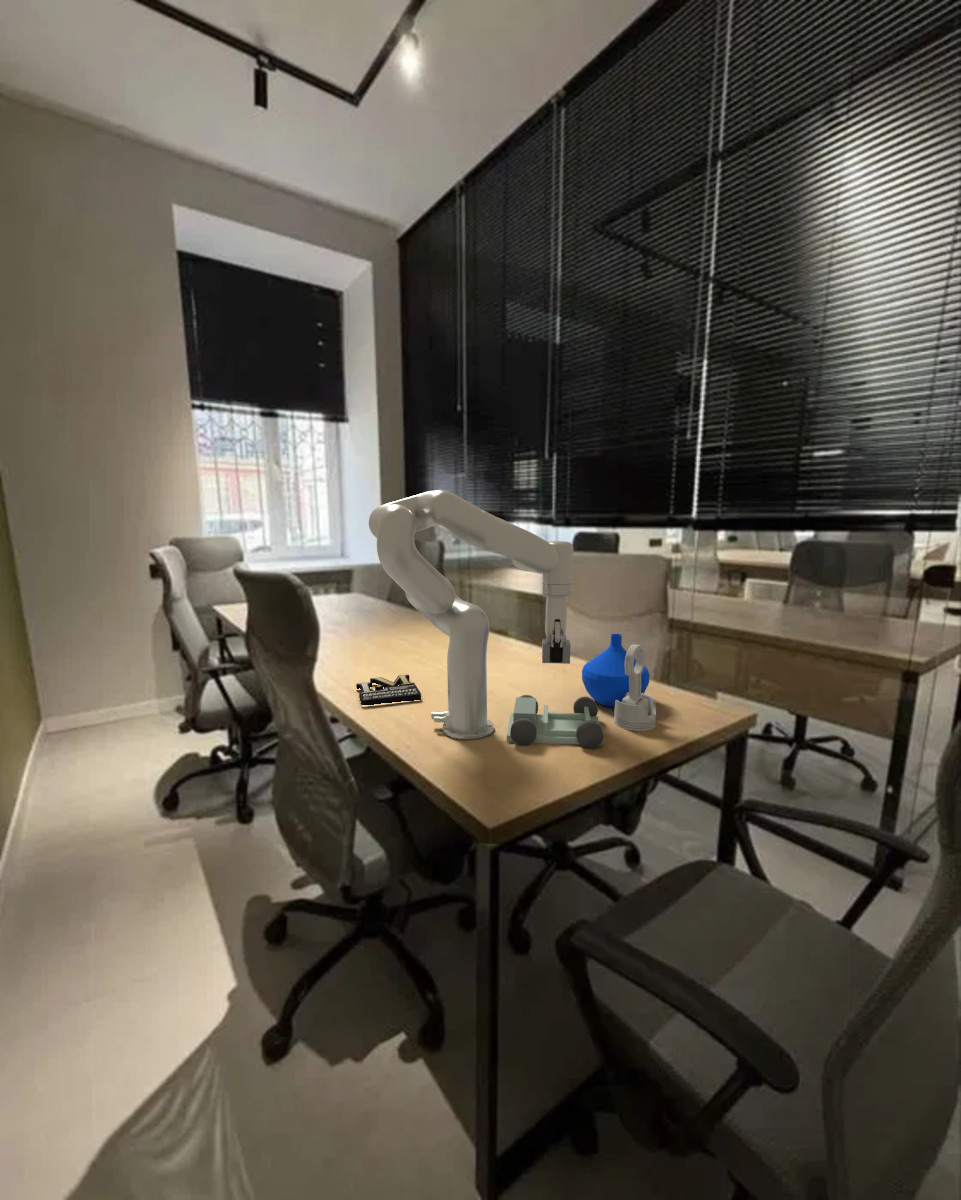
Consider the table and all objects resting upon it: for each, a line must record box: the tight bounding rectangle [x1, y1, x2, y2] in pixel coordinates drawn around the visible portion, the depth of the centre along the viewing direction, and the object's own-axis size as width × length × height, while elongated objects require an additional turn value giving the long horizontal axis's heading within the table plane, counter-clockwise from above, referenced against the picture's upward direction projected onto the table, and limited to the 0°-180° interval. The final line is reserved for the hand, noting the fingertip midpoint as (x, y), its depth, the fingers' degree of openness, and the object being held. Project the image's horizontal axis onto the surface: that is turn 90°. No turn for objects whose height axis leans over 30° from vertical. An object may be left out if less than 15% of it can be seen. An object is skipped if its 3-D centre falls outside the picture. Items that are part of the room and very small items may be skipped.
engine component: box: [613, 643, 657, 732], centre depth 137 cm, size 11×20×10 cm
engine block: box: [541, 634, 571, 665], centre depth 143 cm, size 7×6×6 cm
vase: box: [581, 633, 650, 708], centre depth 153 cm, size 18×18×19 cm
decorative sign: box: [355, 674, 422, 706], centre depth 164 cm, size 17×2×20 cm
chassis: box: [506, 694, 605, 749], centre depth 134 cm, size 22×18×6 cm
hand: (555, 658), depth 143 cm, fingers closed on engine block, 5 cm apart
